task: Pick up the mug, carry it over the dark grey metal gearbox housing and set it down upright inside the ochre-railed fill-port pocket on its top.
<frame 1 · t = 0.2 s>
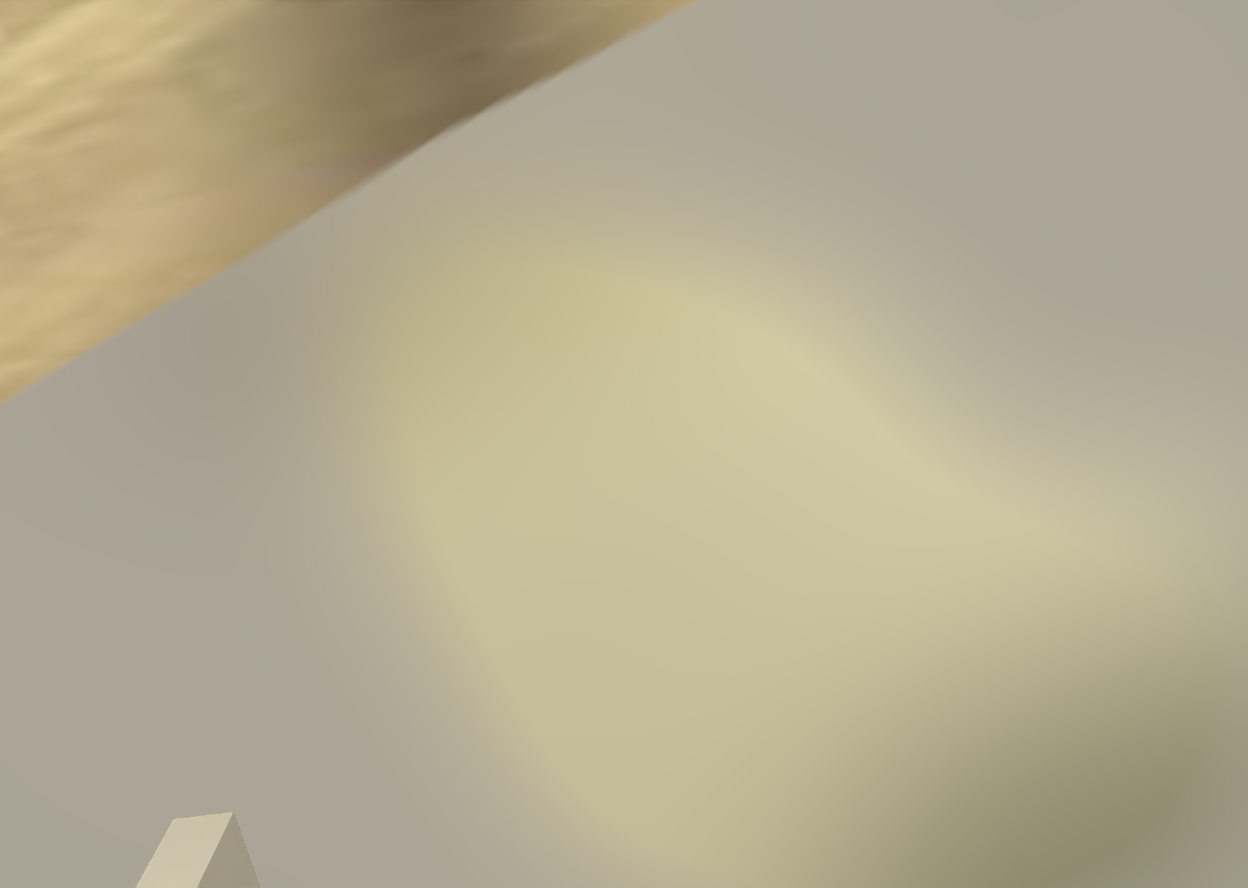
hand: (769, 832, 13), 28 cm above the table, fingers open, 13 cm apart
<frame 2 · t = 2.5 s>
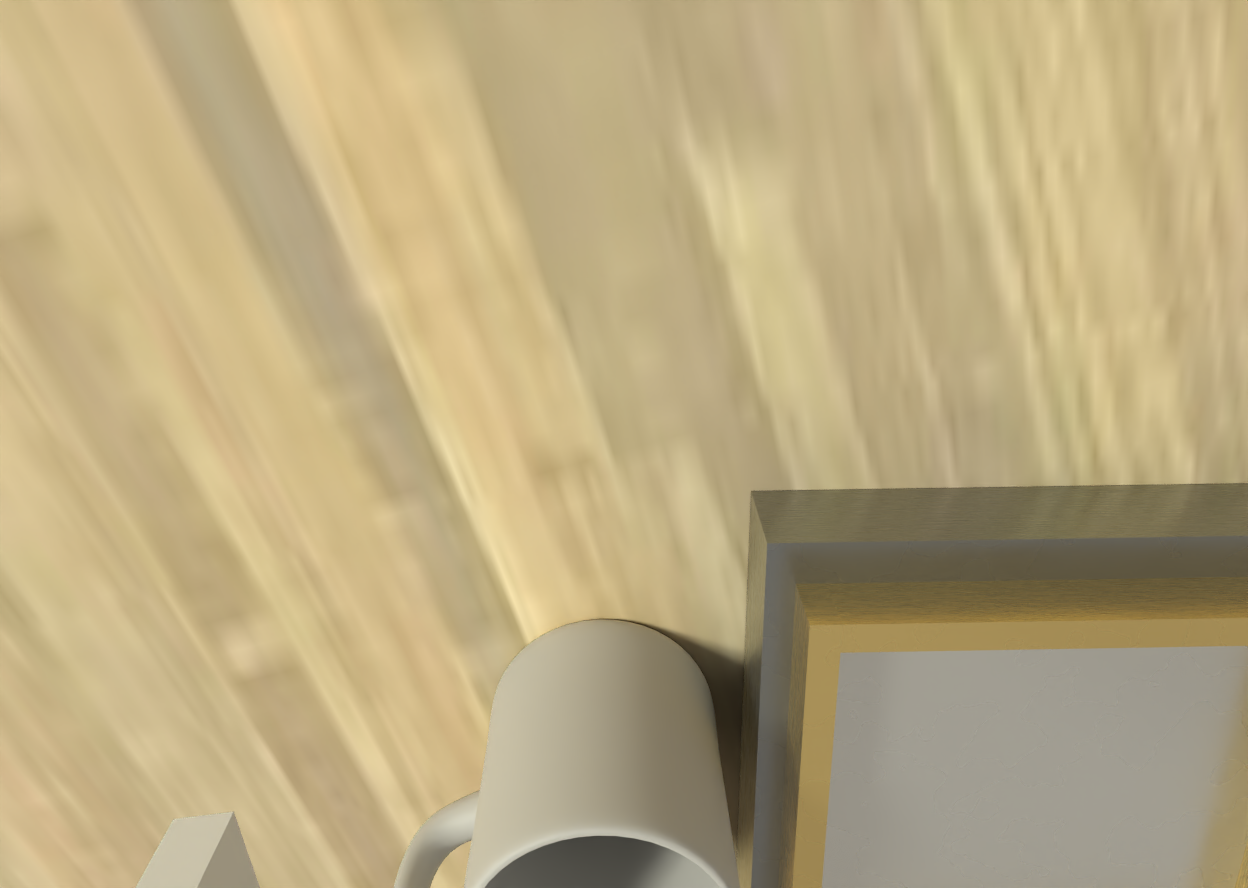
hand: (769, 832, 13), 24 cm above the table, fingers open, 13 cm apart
gearbox: (996, 719, 41), on the table
mug: (563, 723, 41), on the table
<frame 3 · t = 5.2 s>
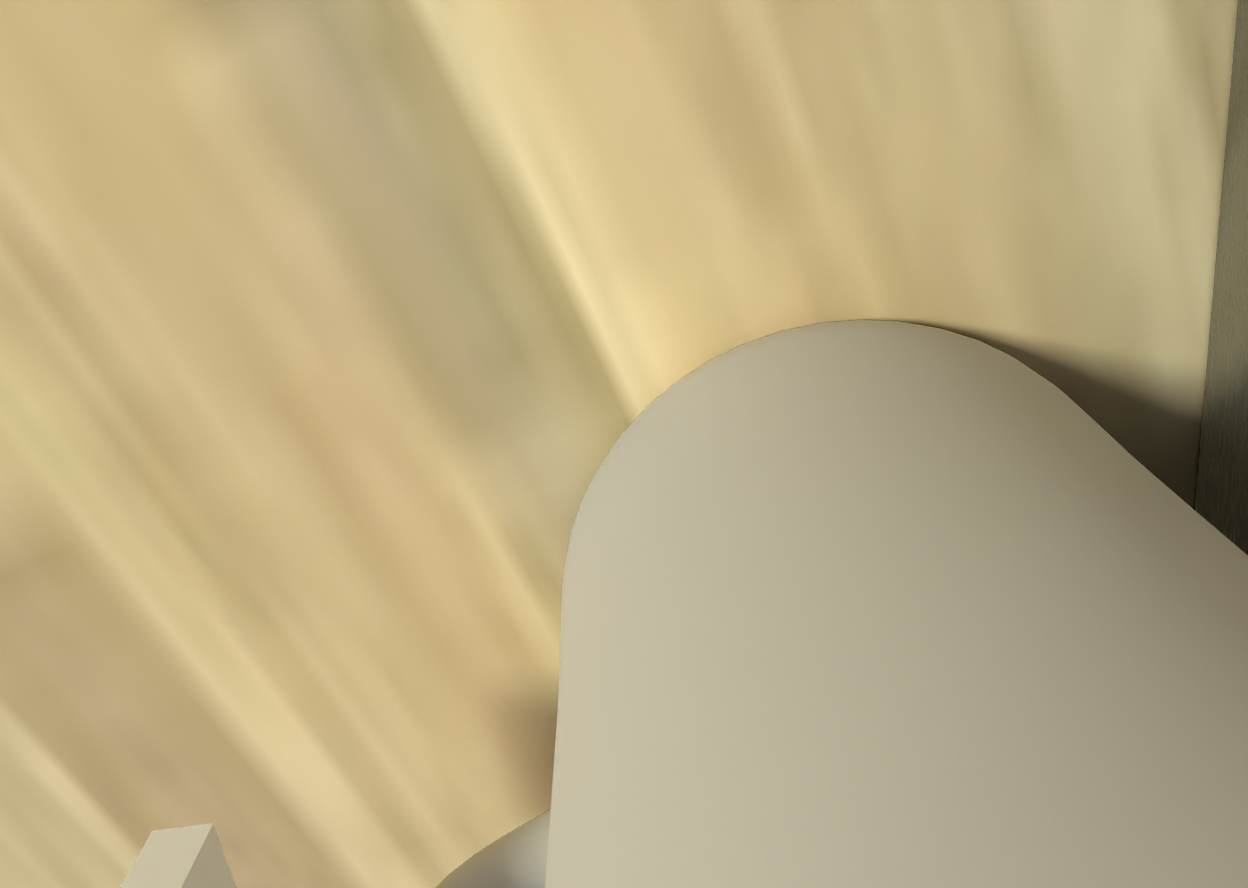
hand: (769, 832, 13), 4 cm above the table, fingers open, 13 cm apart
mug: (739, 622, 17), on the table
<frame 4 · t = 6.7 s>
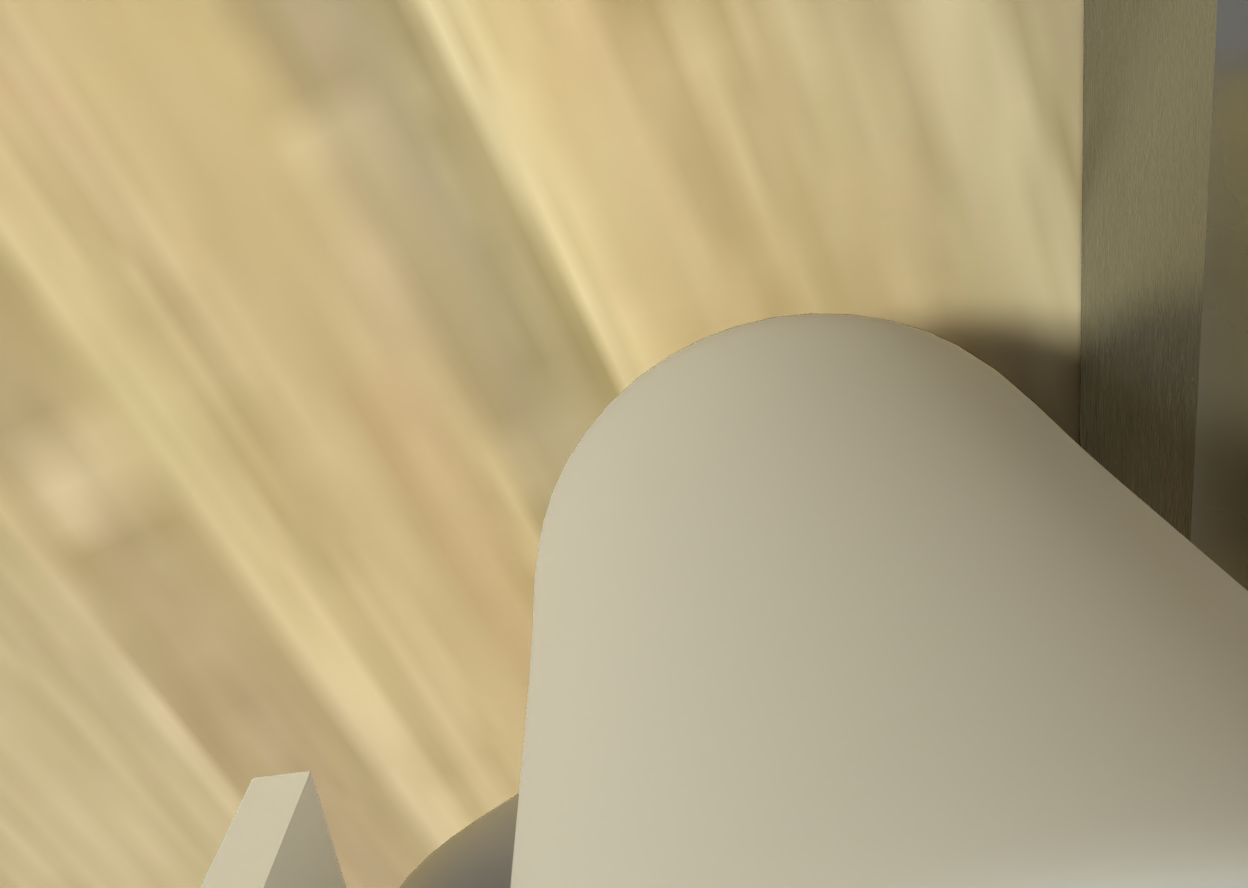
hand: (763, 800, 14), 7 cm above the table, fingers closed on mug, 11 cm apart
mug: (708, 608, 17), point 3 cm above the table, touching gripper
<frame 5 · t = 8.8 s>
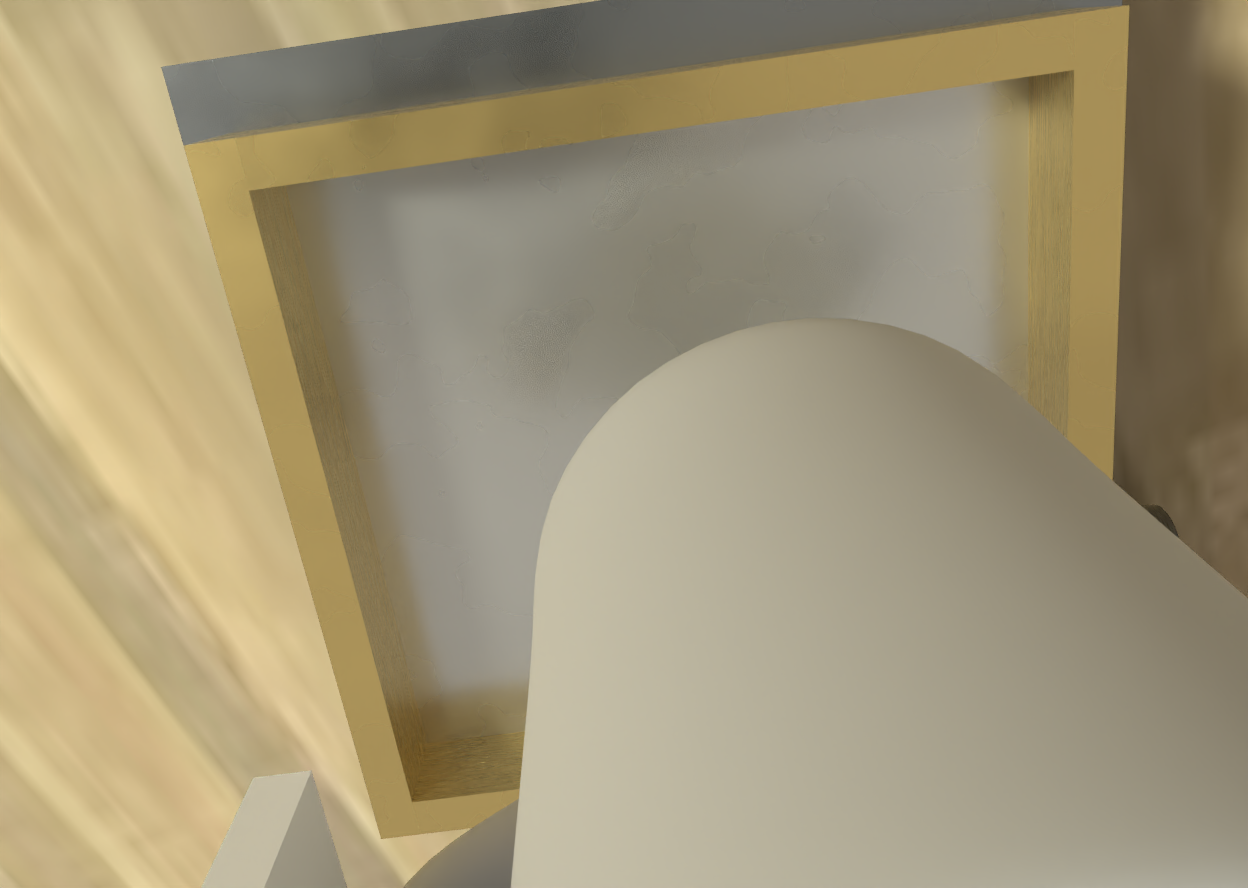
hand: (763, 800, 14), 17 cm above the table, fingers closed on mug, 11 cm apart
gearbox: (679, 389, 29), on the table
mug: (708, 613, 17), point 12 cm above the table, touching gripper
when the fingers open (8 cm above the table, at t = 10.9 s): mug stays where it is, resting on gearbox.
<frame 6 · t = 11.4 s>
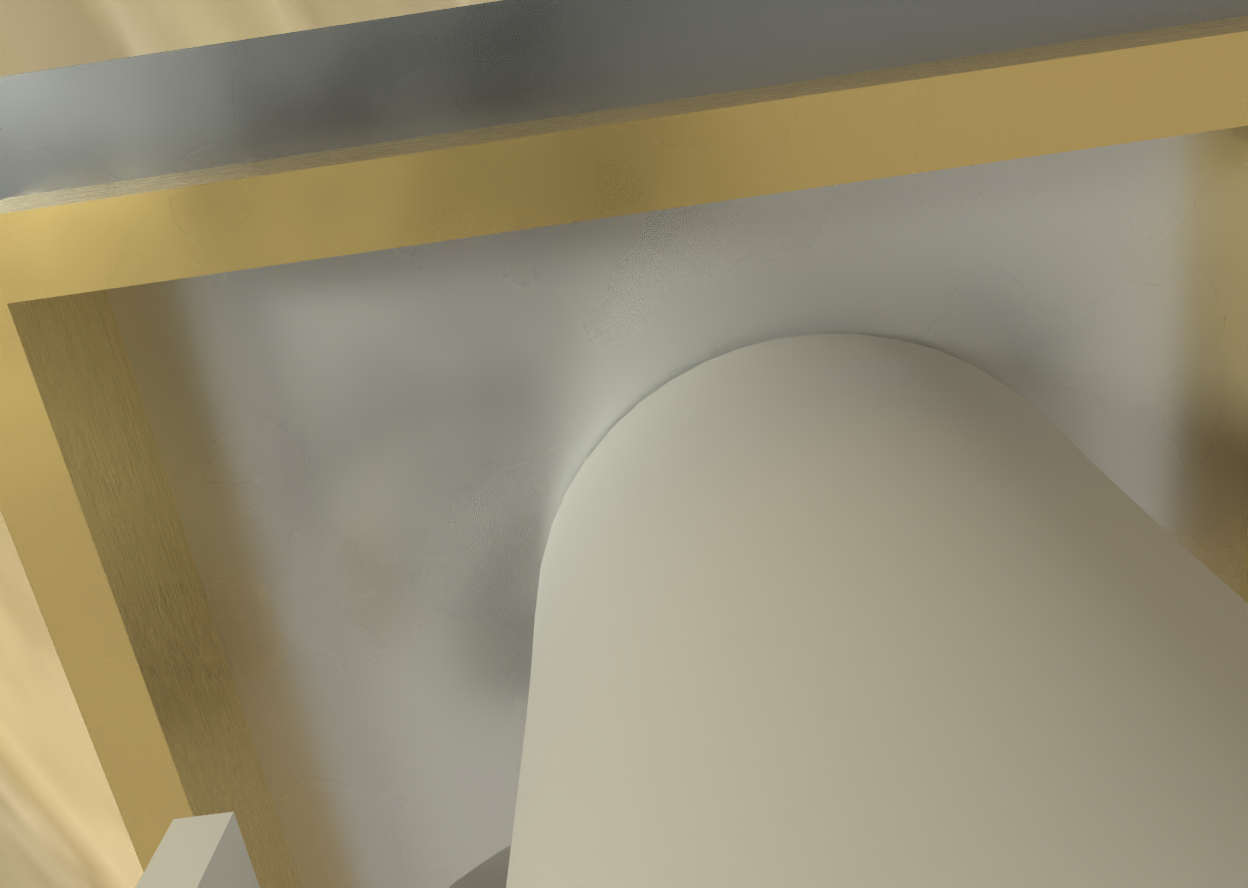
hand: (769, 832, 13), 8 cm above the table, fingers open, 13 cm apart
gearbox: (710, 536, 21), on the table
mug: (717, 638, 17), point 4 cm above the table, touching gearbox
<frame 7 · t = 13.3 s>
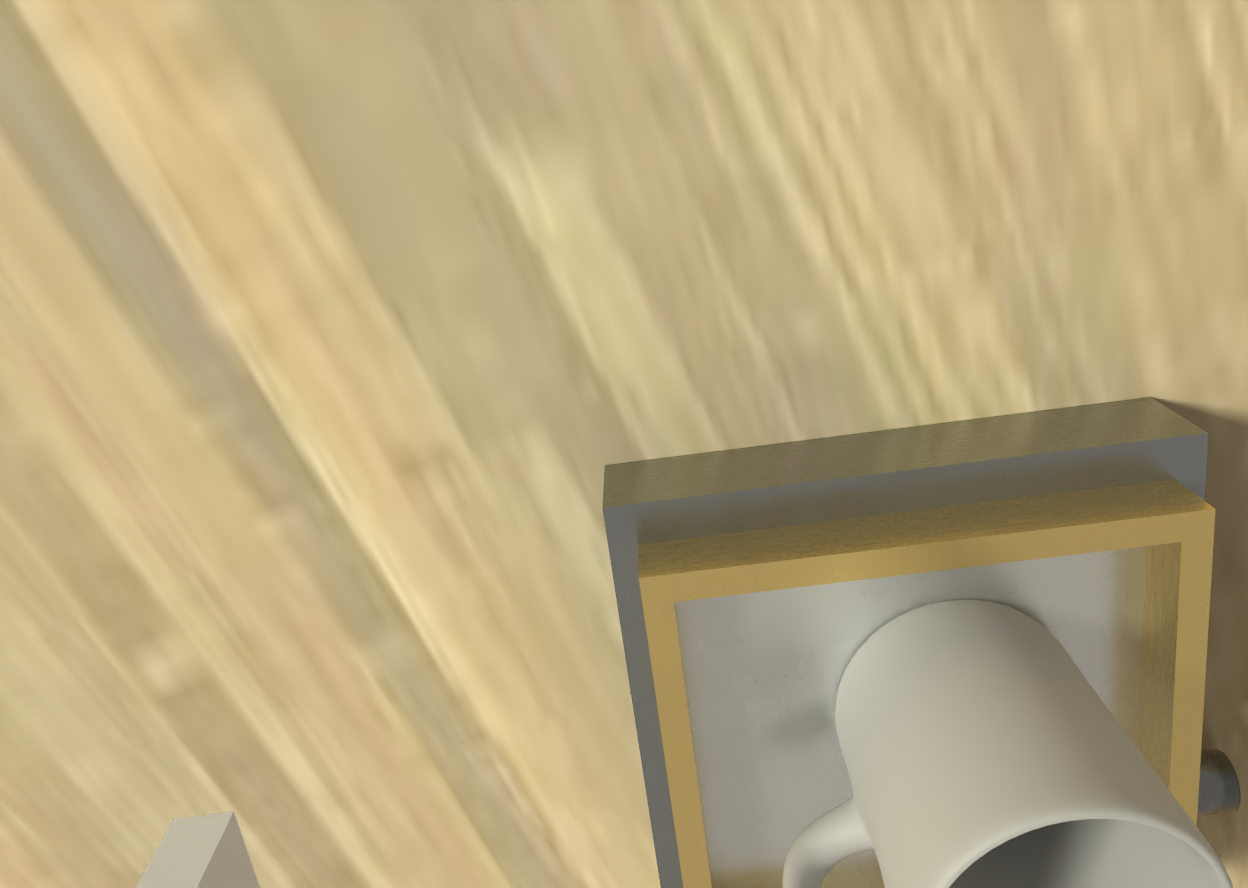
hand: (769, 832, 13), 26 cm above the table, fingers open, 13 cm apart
gearbox: (888, 666, 42), on the table
mug: (907, 721, 38), point 4 cm above the table, touching gearbox
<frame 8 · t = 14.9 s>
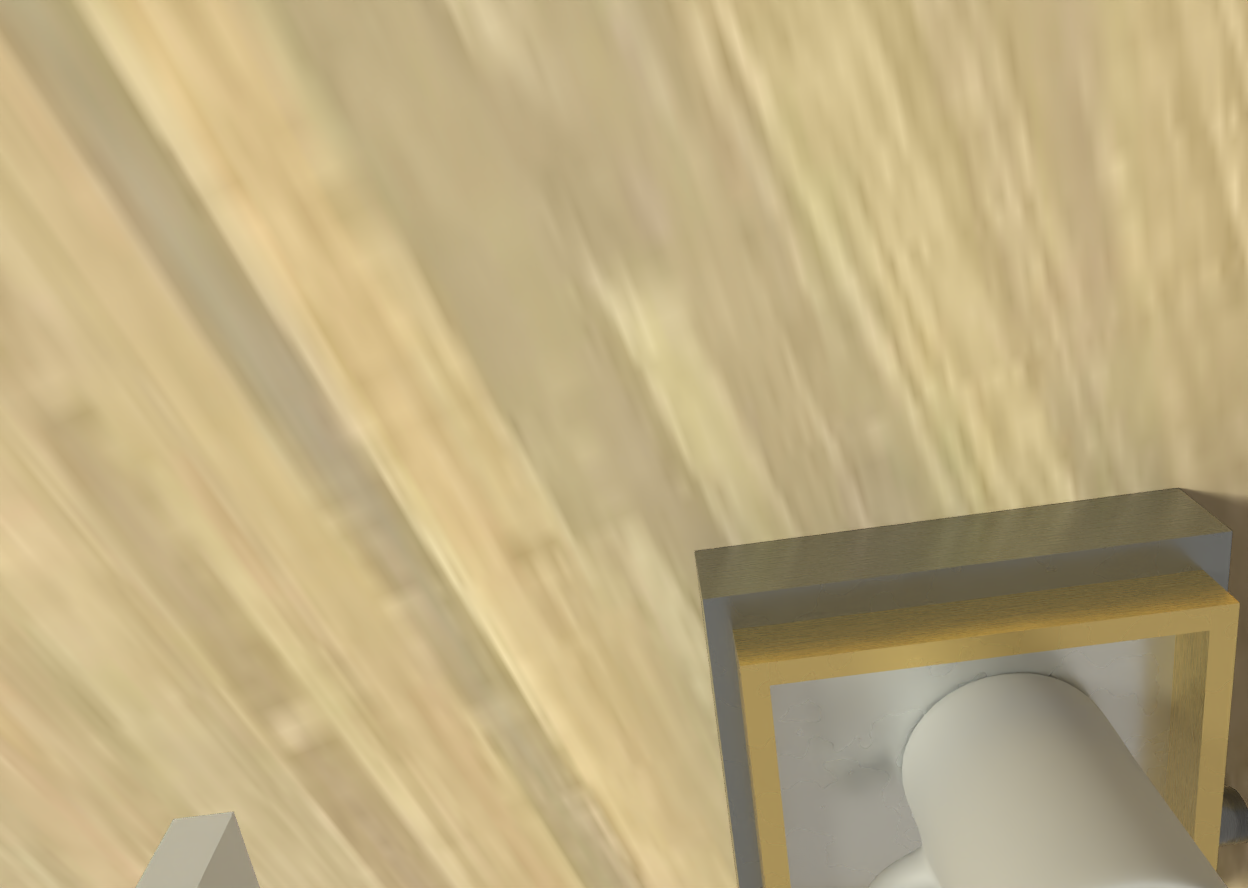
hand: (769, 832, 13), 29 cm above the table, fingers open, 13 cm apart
gearbox: (941, 719, 47), on the table
mug: (964, 775, 43), point 4 cm above the table, touching gearbox
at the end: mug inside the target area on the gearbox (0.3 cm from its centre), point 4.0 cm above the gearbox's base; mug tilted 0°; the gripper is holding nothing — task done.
